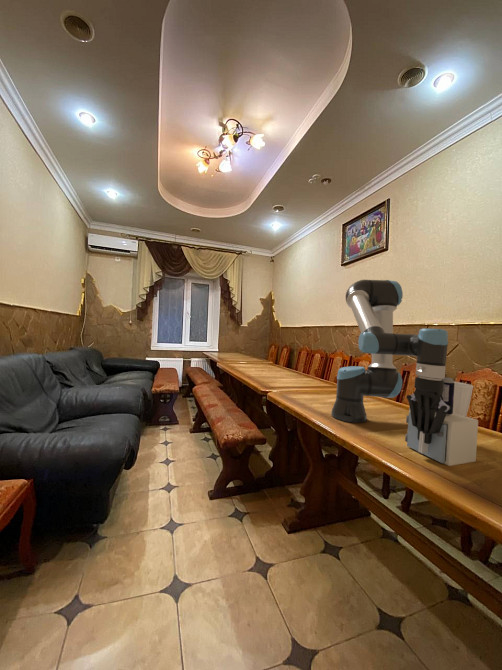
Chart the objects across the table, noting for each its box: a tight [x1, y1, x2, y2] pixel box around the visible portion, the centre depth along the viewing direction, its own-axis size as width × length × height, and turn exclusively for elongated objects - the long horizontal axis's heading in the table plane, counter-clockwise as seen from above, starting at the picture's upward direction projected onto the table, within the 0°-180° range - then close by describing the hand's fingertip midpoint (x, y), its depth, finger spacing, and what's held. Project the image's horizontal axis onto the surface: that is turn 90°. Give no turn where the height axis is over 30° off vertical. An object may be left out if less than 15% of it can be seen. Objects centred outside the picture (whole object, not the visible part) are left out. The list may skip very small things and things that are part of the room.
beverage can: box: [435, 376, 455, 416], centre depth 85 cm, size 6×6×12 cm
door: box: [404, 412, 447, 464], centre depth 83 cm, size 2×13×12 cm, turn 17°
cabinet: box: [408, 408, 479, 467], centre depth 85 cm, size 14×12×13 cm
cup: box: [453, 381, 474, 417], centre depth 97 cm, size 12×12×22 cm
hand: (423, 452), depth 81 cm, fingers closed
